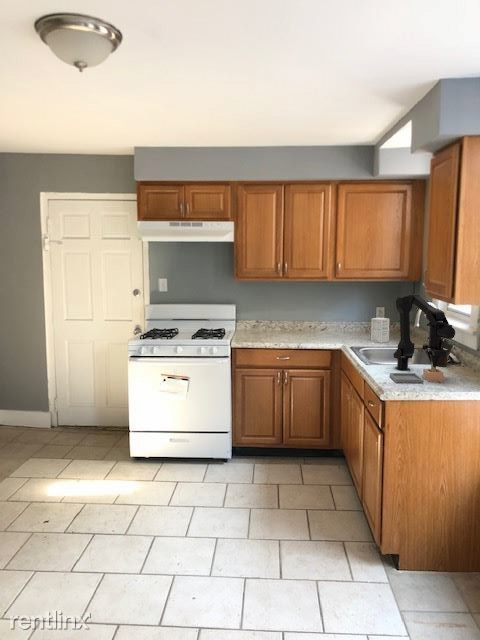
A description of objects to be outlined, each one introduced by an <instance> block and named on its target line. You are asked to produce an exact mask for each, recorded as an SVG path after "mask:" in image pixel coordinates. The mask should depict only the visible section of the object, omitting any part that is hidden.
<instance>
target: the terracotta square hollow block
mask: <svg viewBox="0 0 480 640" xmlns="http://www.w3.org/2000/svg"><path fill="white" fill-rule="evenodd" d="M444 373H445V372H443V371H442V370H440V369H439V368H436V372H431V368H423V373H422V374H423V375H422V379H423V380H426V381H427V382H444Z"/></svg>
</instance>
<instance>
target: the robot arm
mask: <svg viewBox="0 0 480 640" xmlns="http://www.w3.org/2000/svg"><path fill="white" fill-rule="evenodd" d="M413 305H414V306H415V307H417V308H418V309H419V310H420V311H421V312H422V313H423V314H424V315H425V318H426V319H427V321H428V323H426V326H427V327H429V329H428V330H429V332H428V336H427V340H428V343H423V344H422V349H423V350H424V351H425V350H426V351H425V353H426V356H427V358H428V360H429V362H430V364H431V361H432V364H433V367H436V368H437V366H436V365H437V363H438V360H439V358H440V357H441V356H447V351H446V350H444V349H443V348H445V349H447V350H449V352H452V350H453V348H454V345H453V344H452V343H450V342H449V341H448V340H452V339H453V338H455V336H456V330H455V328H453V324H450V323H449V321H448V318H447V317H446V313H445V312H444V311H443V310H441V309H439V308H437V307H434V306H432V305H431V304H430V303H428V302H427V301H426V300H425V299H424V298H422V297H421V295H420V294H417V293H413V294H409V295H406V296H399V297H397V299H395V306H396V310H397V312H399V313H398V314H399V325H400V326H399V328H400V330H399V332H400V334H399V335H400V337H399V338H400V340H399V341H398V343H397V348H396V351H395V352H394V353H393V358H394V359H397V360H396V361H397V362H396V363H397V364H396V366H395V367H394V368H395V369H396V370H397V371H411V369H410V368H409V359H412V358H413V356H414V354H415V352H416V350H415V349H416V348H415V343H414V342H413V341H412V340H411V323H410V321H411V319H410V318H411V317H410V316H411V315H410V314H411V311H412V309H413Z"/></svg>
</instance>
